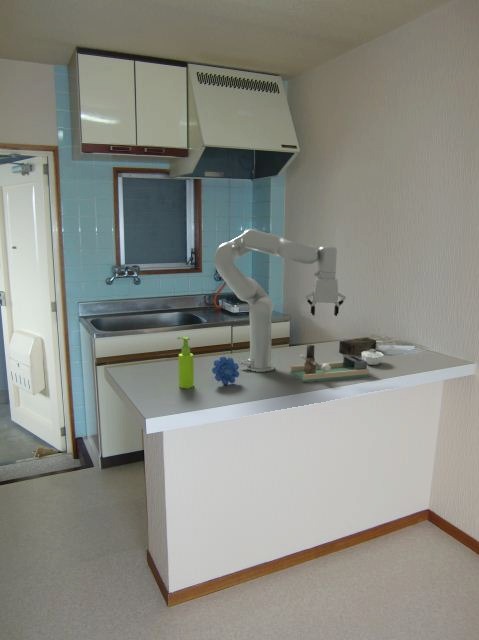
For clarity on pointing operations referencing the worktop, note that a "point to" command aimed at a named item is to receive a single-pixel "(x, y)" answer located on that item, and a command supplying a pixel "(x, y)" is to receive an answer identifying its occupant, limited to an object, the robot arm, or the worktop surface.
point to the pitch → (328, 373)
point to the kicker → (310, 361)
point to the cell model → (372, 356)
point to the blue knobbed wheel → (225, 370)
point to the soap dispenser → (186, 365)
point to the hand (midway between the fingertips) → (324, 315)
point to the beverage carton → (356, 346)
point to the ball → (326, 368)
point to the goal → (354, 362)
